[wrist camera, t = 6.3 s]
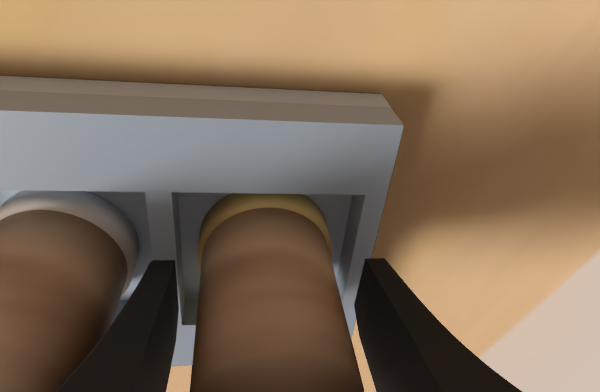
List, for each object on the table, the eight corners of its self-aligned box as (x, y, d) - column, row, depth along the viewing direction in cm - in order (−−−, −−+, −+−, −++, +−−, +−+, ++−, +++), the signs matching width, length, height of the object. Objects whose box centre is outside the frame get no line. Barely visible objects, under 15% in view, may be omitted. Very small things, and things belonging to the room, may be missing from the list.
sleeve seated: (145, 290, 16) (96, 475, 11) (13, 290, 15) (-102, 483, 10) (131, 187, 13) (59, 363, 8) (-26, 183, 13) (-201, 366, 8)
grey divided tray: (336, 314, 19) (346, 358, 18) (8, 324, 17) (-18, 374, 16) (381, 94, 14) (403, 125, 12) (-93, 70, 12) (-152, 104, 10)
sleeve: (319, 282, 17) (354, 448, 12) (201, 284, 16) (186, 460, 11) (335, 185, 14) (387, 342, 9) (197, 183, 14) (175, 351, 9)
